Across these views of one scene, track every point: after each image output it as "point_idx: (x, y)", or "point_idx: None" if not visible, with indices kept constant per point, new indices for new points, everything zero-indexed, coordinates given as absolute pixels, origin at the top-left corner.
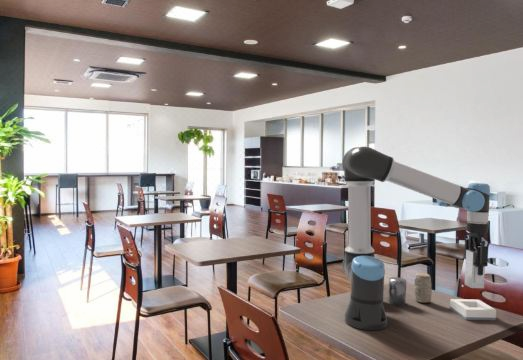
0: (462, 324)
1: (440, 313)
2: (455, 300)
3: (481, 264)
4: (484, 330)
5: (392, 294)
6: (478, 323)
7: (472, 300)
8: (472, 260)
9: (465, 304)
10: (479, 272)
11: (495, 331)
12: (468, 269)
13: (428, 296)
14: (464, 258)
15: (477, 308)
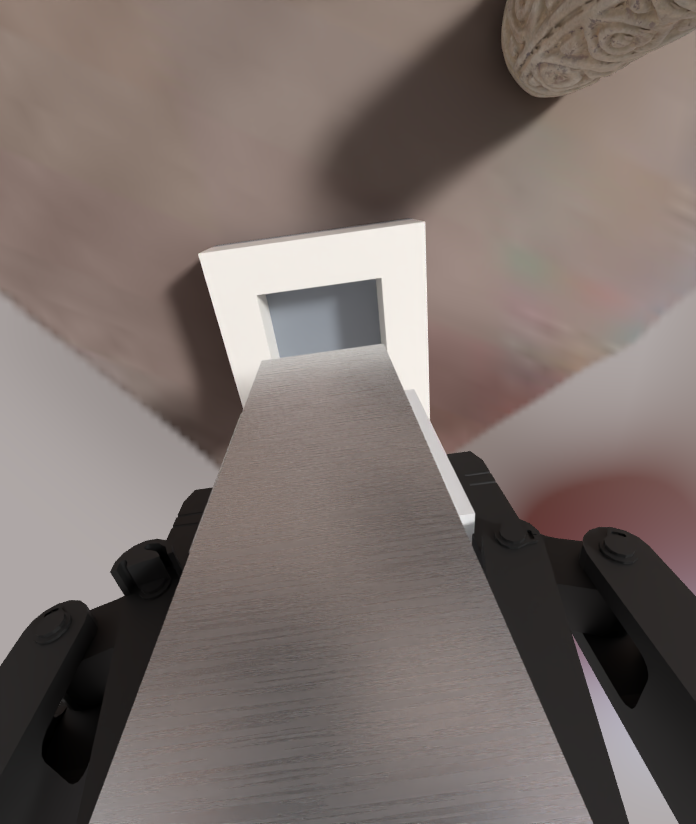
0: (119, 188)
1: (299, 95)
2: (394, 253)
3: (16, 644)
4: (71, 294)
5: None
6: (179, 304)
7: (407, 375)
8: (186, 599)
9: (382, 318)
10: (182, 517)
11: (85, 349)
12: (328, 438)
13: (516, 31)
14: (612, 536)
15: (249, 346)
